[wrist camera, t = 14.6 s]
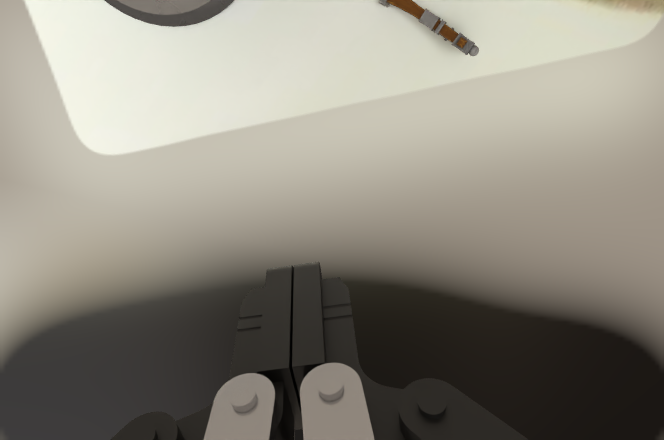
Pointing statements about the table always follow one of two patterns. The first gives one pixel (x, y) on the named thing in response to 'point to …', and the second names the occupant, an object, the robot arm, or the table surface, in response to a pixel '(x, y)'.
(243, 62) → the table surface
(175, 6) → the silver disc with handle
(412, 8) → the toy blunderbuss
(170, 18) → the base plate
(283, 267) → the robot arm
